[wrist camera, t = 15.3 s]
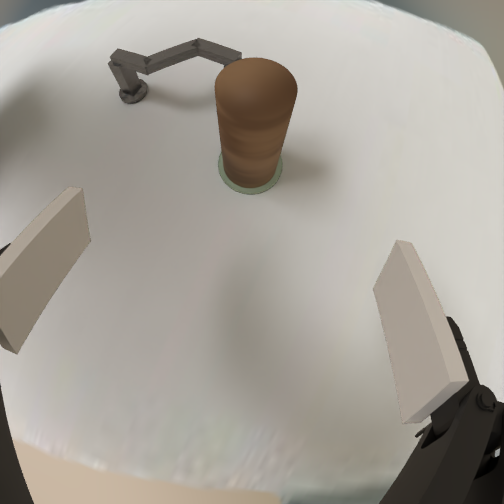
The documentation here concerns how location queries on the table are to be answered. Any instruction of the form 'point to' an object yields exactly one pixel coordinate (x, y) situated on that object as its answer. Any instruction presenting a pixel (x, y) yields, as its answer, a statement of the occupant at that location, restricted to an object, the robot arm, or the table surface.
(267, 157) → the dowel
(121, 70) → the grey bent handle
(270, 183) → the pad
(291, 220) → the table surface
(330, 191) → the table surface
